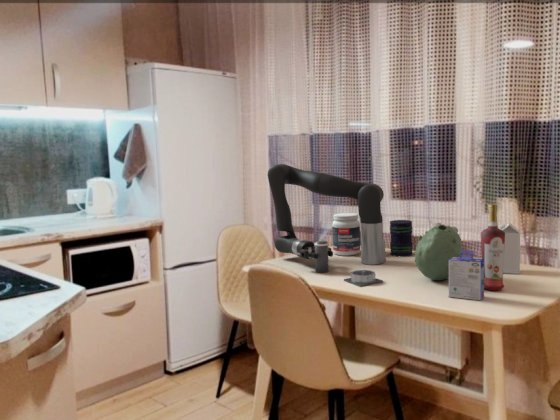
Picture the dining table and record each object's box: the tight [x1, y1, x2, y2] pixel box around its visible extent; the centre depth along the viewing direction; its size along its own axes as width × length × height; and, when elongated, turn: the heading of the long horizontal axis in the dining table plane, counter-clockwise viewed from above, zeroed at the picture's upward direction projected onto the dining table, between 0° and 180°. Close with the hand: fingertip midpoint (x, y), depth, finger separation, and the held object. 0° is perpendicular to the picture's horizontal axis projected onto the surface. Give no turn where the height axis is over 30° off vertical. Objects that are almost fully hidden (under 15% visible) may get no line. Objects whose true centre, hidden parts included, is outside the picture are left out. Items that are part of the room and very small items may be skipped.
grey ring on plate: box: [343, 269, 384, 287], centre depth 176 cm, size 10×10×3 cm
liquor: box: [480, 203, 505, 292], centre depth 158 cm, size 7×7×28 cm
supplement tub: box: [331, 212, 361, 257], centre depth 225 cm, size 13×13×18 cm
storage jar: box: [389, 219, 414, 257], centre depth 218 cm, size 10×10×15 cm
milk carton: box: [498, 219, 521, 275], centre depth 179 cm, size 7×7×19 cm
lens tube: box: [313, 240, 329, 274], centre depth 194 cm, size 5×5×12 cm
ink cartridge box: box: [448, 250, 485, 301], centre depth 152 cm, size 10×6×14 cm, turn 58°
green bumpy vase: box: [414, 222, 464, 281], centre depth 173 cm, size 16×19×20 cm
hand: (324, 255), depth 191 cm, fingers open, 6 cm apart
